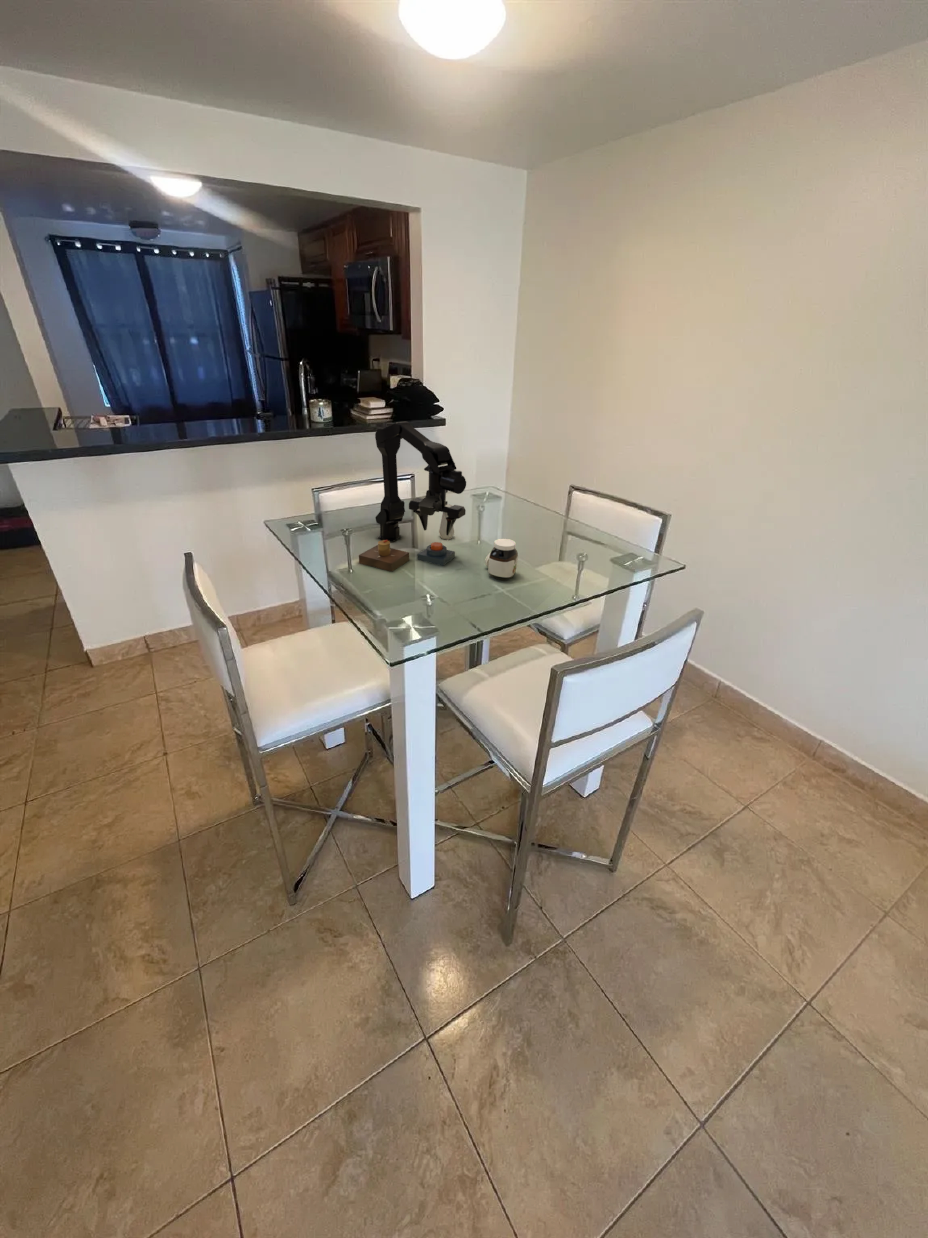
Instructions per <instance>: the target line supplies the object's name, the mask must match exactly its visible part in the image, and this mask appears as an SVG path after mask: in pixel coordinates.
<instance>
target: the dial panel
mask: <svg viewBox="0 0 928 1238" xmlns="http://www.w3.org/2000/svg"><path fill="white" fill-rule="evenodd" d="M409 561H410V552H409V551H404V550H401V549H396V548H392V547H390V555H387V556H381V555H379V554H378V544H376V545H374V546H373V547H371V548H369V549H367V550H365V551H363V552H362V553H360V554H358V564H361V565H364V566H368V567H373V568H376V569H380V570H383V571H387V572H394V571H395V570H397V569H399V568H400V567H401V566H403V565H405V564H406V563H408V562H409Z"/></svg>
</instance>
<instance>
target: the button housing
mask: <svg viewBox="0 0 928 1238" xmlns="http://www.w3.org/2000/svg"><path fill="white" fill-rule="evenodd" d="M455 558H456V551H454V550H450V549H448V548H447V546H446V545H444V544H443V545H442V550H432V549H431V544H429V545H427V546H426V548H425V549H423V550H422V551H420V552H418V553H417V561H421V562H424V563H430V564H433V565H438V566H442V567H443V566H445V565H447V564H448V563H449V562H450V561H452V560H453V559H455Z"/></svg>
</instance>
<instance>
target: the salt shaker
mask: <svg viewBox="0 0 928 1238" xmlns="http://www.w3.org/2000/svg"><path fill="white" fill-rule="evenodd" d="M452 506H453V504H451V503H447V505H446V507H452ZM446 517H448V515H447V513H446V512H442V514H441V519H440V524H439V529H438V534H439V536H440V538H441V539H442V540H447V541H448V540H452V539H453V536H454V534H455V529H454V528H455V527H454V526H453V527H452V529H451V531H450V533H449V535H446V529H447V520H446Z"/></svg>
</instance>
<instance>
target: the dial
mask: <svg viewBox="0 0 928 1238" xmlns="http://www.w3.org/2000/svg"><path fill="white" fill-rule="evenodd" d="M377 545H378V554H379V555H381V556H387V555H390V548H391V541H388V540H382V539H381V540H379V541H378V542H377Z"/></svg>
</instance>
